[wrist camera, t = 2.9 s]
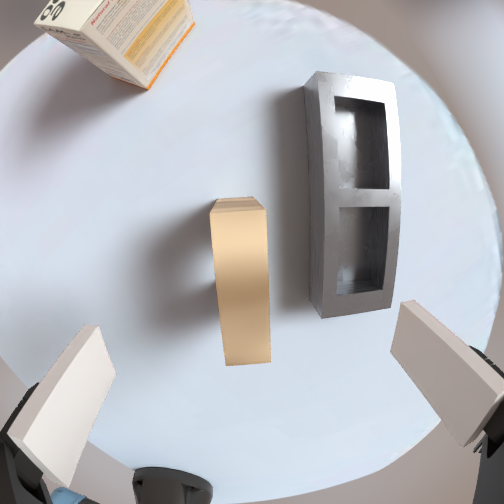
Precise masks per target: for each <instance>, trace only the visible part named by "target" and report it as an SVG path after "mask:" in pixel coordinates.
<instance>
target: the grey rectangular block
mask: <svg viewBox="0 0 504 504" xmlns="http://www.w3.org/2000/svg"><path fill="white" fill-rule="evenodd" d="M303 87H304V98H305V111H306V125H307V141H308V161H309V188H310V290H309V299H310V301H311V303H312V304H313V306H314V308H315V309H316V311H317V312H318V314H319V316H320V317H321V319H323V318H330V317H337V316H344V315H351V314H357V313H363V312H369V311H375V310H381V309H386V308H391V303H392V297H393V290H394V283H395V275H396V266H397V257H398V246H399V233H400V214H401V155H400V137H399V124H398V114H397V105H396V97H395V89H394V83H389V82H385V81H380V80H375V79H370V78H364V77H358V76H352V75H345V74H337V73H329V72H319V71H316V72H315V73H314V75H313V76H312V77H311V78H310V79H309V80H308V81H307V82H306V84H305V85H304V86H303Z"/></svg>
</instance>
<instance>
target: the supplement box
mask: <svg viewBox="0 0 504 504" xmlns="http://www.w3.org/2000/svg"><path fill="white" fill-rule="evenodd" d="M34 25H35V26H37V27H38V28H40V29H42V30H43V31H45V32H46V33H48V34H49V35H51V36H52V37H54V38H56V39H57V40H59V41H60V42H62V43H63V44H65V45H66V46H68V47H69V48H71V49H72V50H74V51H75V52H77V53H78V54H80V55H81V56H83V57H84V58H85V59H87V60H88V61H90V62H91V63H93V64H94V65H95V66H97V67H98V68H100V69H101V70H102V71H104V72H105V73H106V74H108V75H109V76H111V77H113V78H116V79H119V80H122V81H125V82H128V83H131V84H134V85H137V86H139V87H142V88H144V89H147V90H149V89H150V87H151V86H152V84H153V83H154V81H155V79H156V78H157V76H158V75H159V73H160V72H161V70H162V69H163V67H164V66H165V64H166V63H167V61H168V60H169V59H170V57H171V56H172V54H173V53H174V52H175V50H176V49H177V47H178V46H179V44H180V43H181V42H182V41H183V39H184V38H185V37H186V35H187V34H188V33H189V31H190V30H191V29H192V28H193V26H194V25H195V23H194V18H193V14H192V10H191V6H190V2H189V0H51V1H50V2H49V3H48V5H47V6H46V7H45V9H44V10H43V11H42V13H41V14H40V15H39V17H38V18H37V20H36V21H35V22H34Z"/></svg>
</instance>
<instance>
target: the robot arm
mask: <svg viewBox="0 0 504 504" xmlns="http://www.w3.org/2000/svg"><path fill="white" fill-rule="evenodd" d="M390 352H391V354H392V355H393V356H394V358H395V359H396V360H397V361H398V363H399V364H400V365H401V367H402V368H403V369H404V370H405V372H406V373H407V374H408V376H409V377H410V378H411V379H412V381H413V382H414V383H415V385H416V386H417V387H418V389H419V390H420V391H421V393H422V394H423V395H424V397H425V398H426V399H427V401H428V402H429V404H430V405H431V406H432V408H433V409H434V410H435V412H436V413H437V414H438V416H439V417H440V419H441V420H442V421H443V423H444V424H445V426H446V427H447V429H448V430H449V431H450V433H451V434H452V436H453V437H454V438H455V440H456V441H457V443H458V444H459V446H460V447H461V448H463V447H465V446H467V445H468V444H470V443H471V442H473V441H474V440H475V439H476V438H477V437H478V436H479V434H480V433H481V431H482V430H484V431H485V432H486V434H485V435H484V437H483V438H482V439H481V440H480V442H479V443H478V444H477V445H476V447H475V448H474V451H473V452H474V453H475V452H476V451H477V450H478V449H479V447H480V446H481V445H482V448H481V449H480V451H479V453H481V459H480V467H479V474H478V480H477V485H476V490H475V495H474V499H473V504H504V373H503V372H502V371H501V370H500V369H499V368H498V367H497V366H496V365H493V362H492V361H490V360H489V359H487V357H486V356H485V355H484V354H483V353H482V352H481V351H480V350H478V349H476V348H474V347H472V346H468V345H467V344H466V343H464V342H463V341H462V340H461V339H460V338H459V337H458V336H456V335H455V334H454V333H453V332H452V331H451V330H450V329H448V328H447V327H446V326H445V325H444V324H443V323H441V322H440V321H439V320H438V319H437V318H435V317H434V316H433V315H432V314H431V313H429V312H428V311H427V310H426V309H425V308H423V307H422V306H421V305H420V304H418V303H417V302H416V301H415V300H410V301H405V302H401V305H400V310H399V315H398V320H397V325H396V329H395V334H394V338H393V342H392V346H391V350H390ZM115 376H116V372H115V369H114V367H113V364H112V362H111V359H110V357H109V354H108V351H107V349H106V346H105V343H104V340H103V337H102V334H101V331H100V328H99V325H84V326H83V327H82V329H81V330H80V331H79V332H78V333H77V335H76V336H75V337H74V338H73V340H72V341H71V342H70V343H69V345H68V346H67V347H66V349H65V350H64V351H63V352H62V354H61V355H60V356H59V358H58V359H57V360H56V362H55V363H54V364H53V366H52V367H51V368H50V370H49V371H48V372H47V374H46V375H45V376H44V378H43V379H42V381H41V382H40V383H36V384H35V385H34V386H33V387H31V388H30V389H29V390H28V391H27V392H26V394H25V396H24V397H23V400H21V401H20V403H19V404H18V407H16V408H15V410H14V411H13V413H12V414H11V416H10V418H9V419H8V421H7V422H6V424H5V425H4V427H3V428H2V430H1V431H0V504H99V503H97V502H95V501H92V500H90V499H88V498H86V496H84V495H83V496H82V495H80V494H78V493H75V492H73V491H71V490H69V489H67V488H64V487H59V488H56V489H55V490H54V491H53V492H52V494H51V495H49V492H48V489H47V487H46V484H45V482H44V480H43V479H42V478H41V477H42V475H43V473H44V474H45V475H46V476H47V477H48V478H49V479H50V480H51V481H52V482H55V483H58V484H60V485H62V486H65V487H68V488H69V486H70V483H71V481H72V478H73V475H74V472H75V470H76V467H77V464H78V462H79V459H80V456H81V454H82V451H83V449H84V446H85V444H86V442H87V439H88V437H89V434H90V432H91V429H92V427H93V425H94V422H95V420H96V418H97V416H98V413H99V411H100V409H101V407H102V404H103V402H104V400H105V398H106V396H107V393H108V391H109V389H110V387H111V385H112V383H113V381H114V378H115ZM132 484H133V489H134V495H135V500H136V504H210V502H211V500H212V497H213V487H212V485H211V484H210V483H209V482H207V481H206V480H204V479H202V478H200V477H198V476H195V475H193V474H189V473H186V472H182V471H178V470H173V469H166V468H154V467H151V468H142V469H139V470H137V471H135V473H134V477H133V482H132Z"/></svg>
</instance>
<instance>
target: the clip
mask: <svg viewBox="0 0 504 504" xmlns="http://www.w3.org/2000/svg"><path fill="white" fill-rule="evenodd" d="M210 226H211V237H212V249H213V259H214V270H215V279H216V289H217V298H218V307H219V316H220V324H221V332H222V340H223V348H224V356H225V363H226V366H233V365H247V364H259V363H269V362H271V345H270V306H269V274H268V246H267V221H266V209H265V208H264V207H263V206H262V205H261V204H260V203H259V202H258V201H257V200H256V199H255V198H254V197H239V198H224V199H217V201H216V202H215V204H214V206H213V208H212V210H211V212H210Z"/></svg>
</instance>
